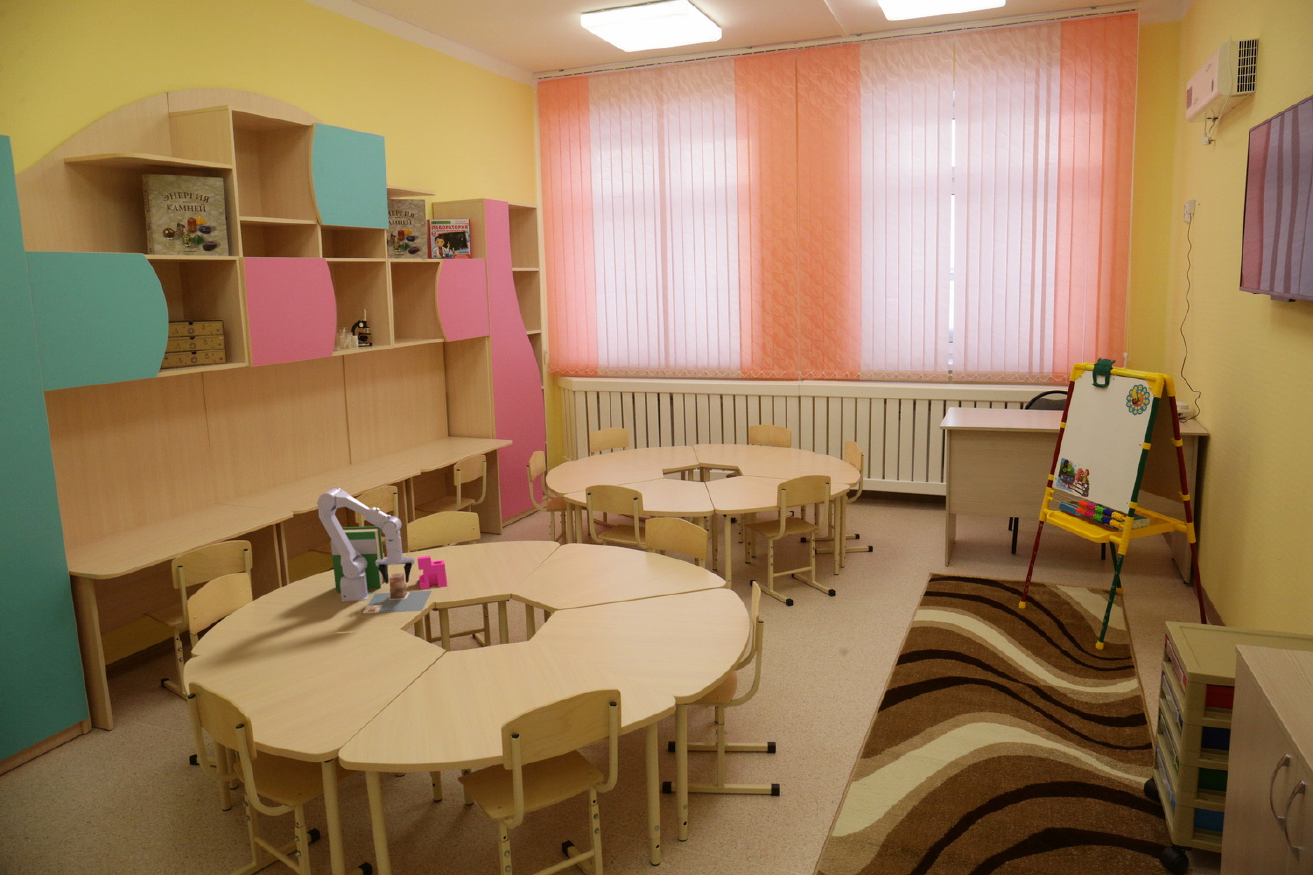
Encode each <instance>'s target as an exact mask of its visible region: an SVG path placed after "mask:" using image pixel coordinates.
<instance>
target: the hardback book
mask: <svg viewBox="0 0 1313 875" xmlns="http://www.w3.org/2000/svg"><path fill="white" fill-rule="evenodd" d="M341 527H342V526H341ZM342 529H343V530H344V532H345V534H346V536H347V538H348V539H349V541H350V543H351V545H352V547H353V548H354V550H356V551H358V552H359V553H360V554H361V556H362V557H364V558H365V559H366V561H367V567H366V569H365V573H366V582H367V590H368V589H381V588H382V584H383V583H386V582H385V579H384V577H383V575H382V574H381V572H380V571H379V569H378V568H379V566H376V560H380V559H384V552H383V543H382V542H383V540H382V529H381V528H379V527H377V526H375V525H374V526H346V527H345V526H343V527H342ZM329 539H330V547H331V548H330V549H331V557H332V565H333V573H334V576H333V577H334V582H335V591H336V592H341V588H340V581H341V578H342V577H343V576H345V575H344V574H343V568H342V566H341V556H340V554H339V552H338V550H337V549H336V547H335V545H334V543H333V541H332V540H331V538H330V537H329Z"/></svg>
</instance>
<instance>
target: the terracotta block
mask: <svg viewBox="0 0 1313 875" xmlns="http://www.w3.org/2000/svg"><path fill="white" fill-rule="evenodd" d="M388 578H389V590H390V589H401V588H403V586H404V585H405V584H406V580H405V572H402V573H399V572H398V573H391V574H390V576H389V577H388Z"/></svg>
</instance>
